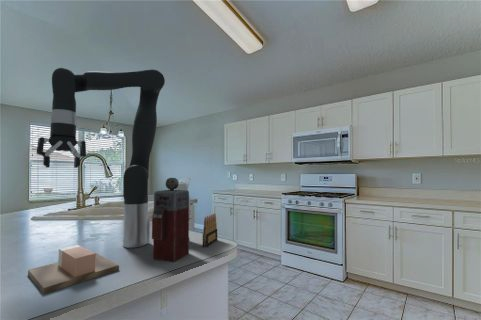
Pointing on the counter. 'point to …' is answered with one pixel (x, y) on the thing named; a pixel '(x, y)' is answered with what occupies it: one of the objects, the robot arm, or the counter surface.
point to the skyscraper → (184, 186)
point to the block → (76, 260)
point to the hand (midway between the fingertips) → (62, 167)
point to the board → (67, 274)
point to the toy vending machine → (170, 223)
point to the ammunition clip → (209, 230)
